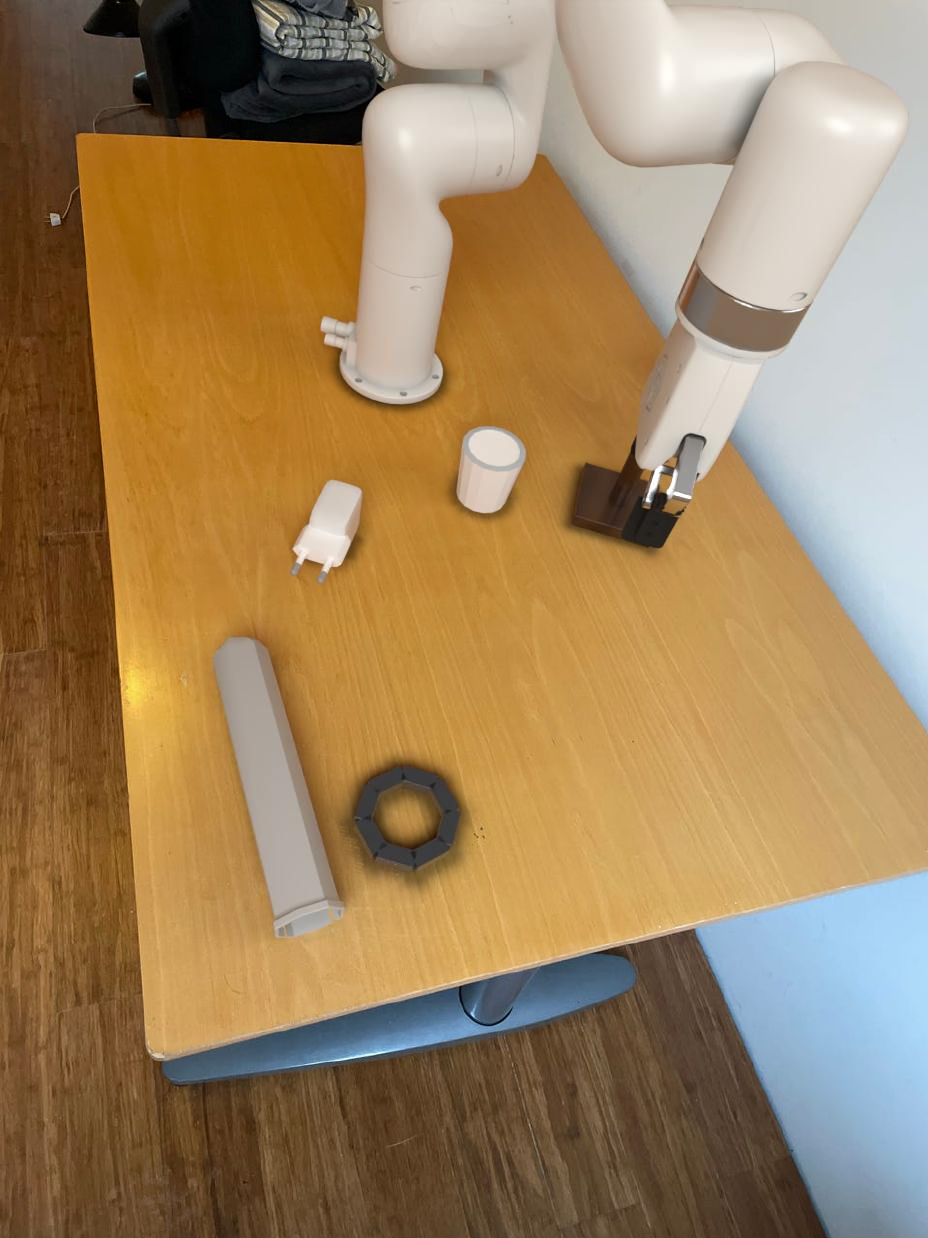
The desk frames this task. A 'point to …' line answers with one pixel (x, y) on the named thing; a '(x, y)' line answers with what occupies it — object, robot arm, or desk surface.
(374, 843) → the ring
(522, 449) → the shot glass
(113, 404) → the desk surface
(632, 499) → the post
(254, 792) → the tube
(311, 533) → the power adapter
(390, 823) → the desk surface
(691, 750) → the desk surface
